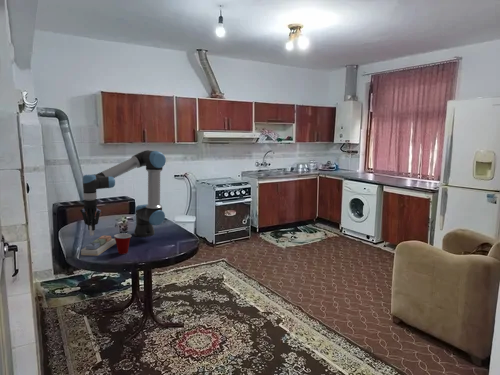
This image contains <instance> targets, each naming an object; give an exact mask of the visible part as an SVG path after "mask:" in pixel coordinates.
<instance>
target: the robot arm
mask: <svg viewBox="0 0 500 375" xmlns="http://www.w3.org/2000/svg"><path fill="white" fill-rule="evenodd" d="M166 162H167V160H166V156H165V155H164V153H163V152H162V151H161V152H160V151H158V150H148V149H147V150H142V151H141V152H138V153H136V154H134V155H132V156H131V158H129V159H126V160H124V161H123V162H120V163H118V164H116V165H113V166H111V167H109V168H107V169H104V170H103V171H101V172H99V173H95V174H84V175H83V176H82V190H83V191H82V192H83V193H82V194H83V195H82V196H83V208H82V209H80V213H81V215H82V216H81V217H82V219H83V222H84V225H87V229H88V231H89V236H90V237H92V236H95V230H96V225H98V224H99V219H100V216H101V212H102V210H101V209H99V208H98V206H97V204H98V200H97V190H102V189H112V188H114V187H115V185H116V178H117V177H120V176H121V175H124V174H126V173H129V171H131V170H134V169H138V168H142V167H145V171H146V172H147V204H140V205H136V207H135V222H136V223H135V228H134V231H133V235H134V236H135V237H139V238H147V237H151V236H154V235H155V234H156V232H155V228H154V226H160V225H162V224H163V222H164V221H165V218H166V214H165V212H164V211H163V206H162V205H161V172H162V171H163V168H164V166H165V165H166Z"/></svg>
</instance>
